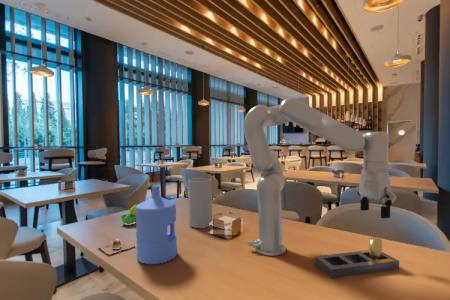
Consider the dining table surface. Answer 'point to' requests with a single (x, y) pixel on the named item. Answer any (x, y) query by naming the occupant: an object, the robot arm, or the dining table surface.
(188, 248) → the dining table surface
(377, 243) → the brass peg
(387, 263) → the grey compartment tray
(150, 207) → the water jug
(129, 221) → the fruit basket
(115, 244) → the dessert
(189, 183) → the cylinder vase
